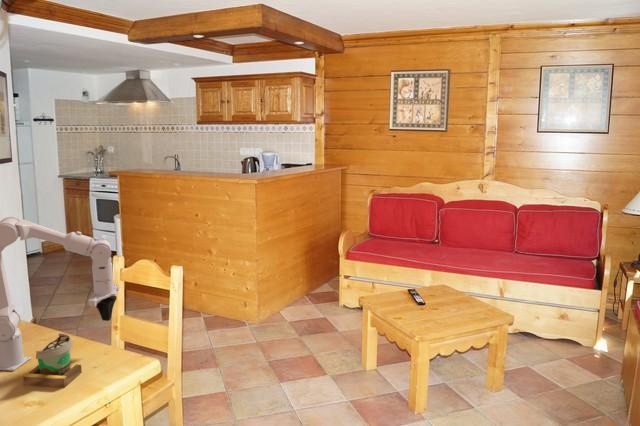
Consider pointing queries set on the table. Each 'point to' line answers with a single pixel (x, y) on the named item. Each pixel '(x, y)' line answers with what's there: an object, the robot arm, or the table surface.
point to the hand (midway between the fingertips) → (106, 319)
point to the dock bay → (51, 377)
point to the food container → (55, 356)
